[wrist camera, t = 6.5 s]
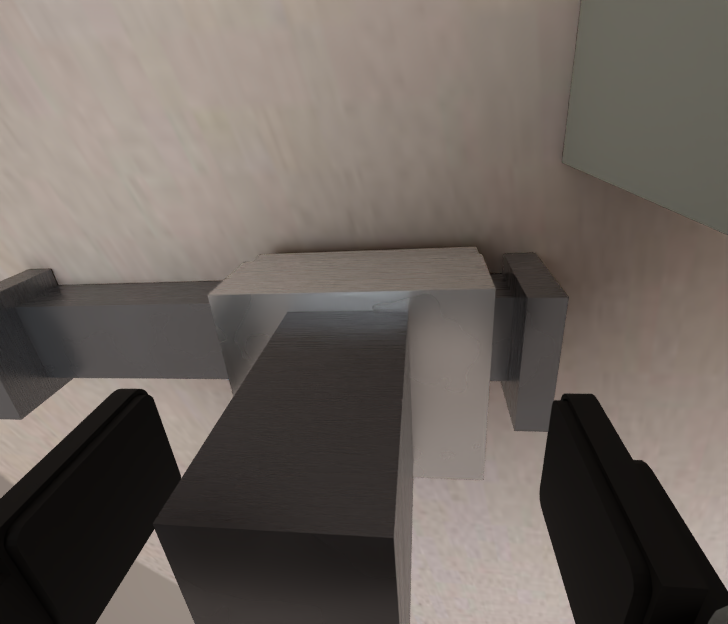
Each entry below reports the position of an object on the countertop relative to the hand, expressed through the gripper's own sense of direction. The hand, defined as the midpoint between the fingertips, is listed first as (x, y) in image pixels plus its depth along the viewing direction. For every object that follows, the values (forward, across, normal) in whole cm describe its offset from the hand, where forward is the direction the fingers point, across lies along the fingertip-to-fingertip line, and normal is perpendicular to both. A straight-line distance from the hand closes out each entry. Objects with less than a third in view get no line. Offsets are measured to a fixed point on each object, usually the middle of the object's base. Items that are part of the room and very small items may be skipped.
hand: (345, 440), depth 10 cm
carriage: (+7, 0, 0) cm, 7 cm away
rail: (+7, +4, 0) cm, 8 cm away
